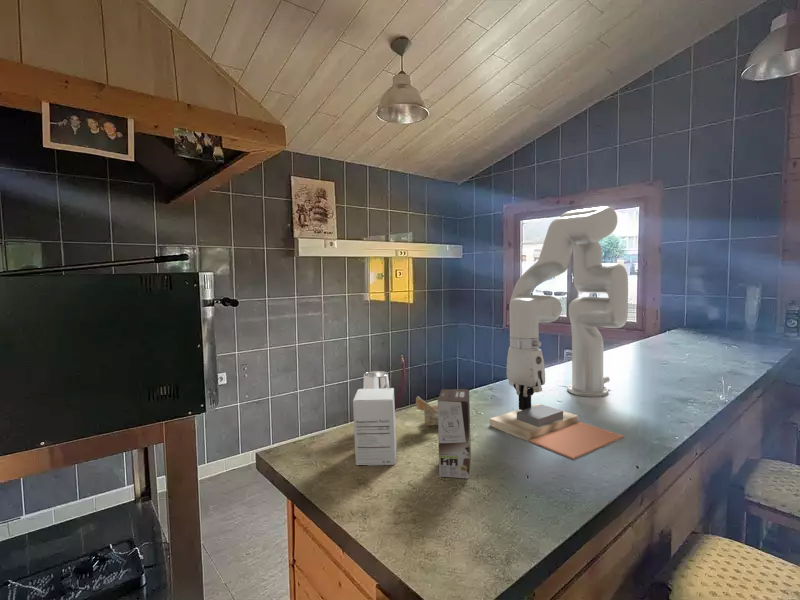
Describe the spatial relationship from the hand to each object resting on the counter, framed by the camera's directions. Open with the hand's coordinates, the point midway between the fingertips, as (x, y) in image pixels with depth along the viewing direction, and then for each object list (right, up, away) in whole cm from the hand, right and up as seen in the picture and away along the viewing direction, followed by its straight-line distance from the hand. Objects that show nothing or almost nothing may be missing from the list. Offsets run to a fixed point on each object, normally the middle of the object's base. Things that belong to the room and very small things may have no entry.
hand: (525, 409), depth 116 cm
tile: (+3, -1, -4) cm, 5 cm away
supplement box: (-40, -6, -19) cm, 44 cm away
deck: (+2, -4, -2) cm, 5 cm away
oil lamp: (-22, -4, +2) cm, 23 cm away
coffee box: (-22, -6, -25) cm, 34 cm away
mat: (+9, -4, -13) cm, 16 cm away
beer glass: (-40, -5, -1) cm, 41 cm away
